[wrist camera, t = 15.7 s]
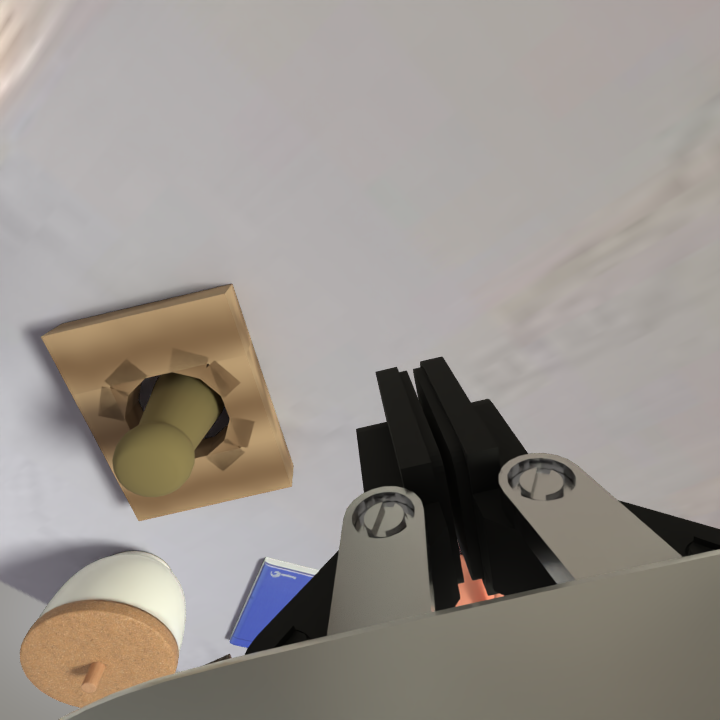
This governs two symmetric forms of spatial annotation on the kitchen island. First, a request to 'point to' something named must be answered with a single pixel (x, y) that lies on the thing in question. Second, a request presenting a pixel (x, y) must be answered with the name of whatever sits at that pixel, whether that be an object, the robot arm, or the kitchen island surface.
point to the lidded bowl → (107, 630)
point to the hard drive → (269, 597)
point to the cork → (166, 436)
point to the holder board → (187, 357)
